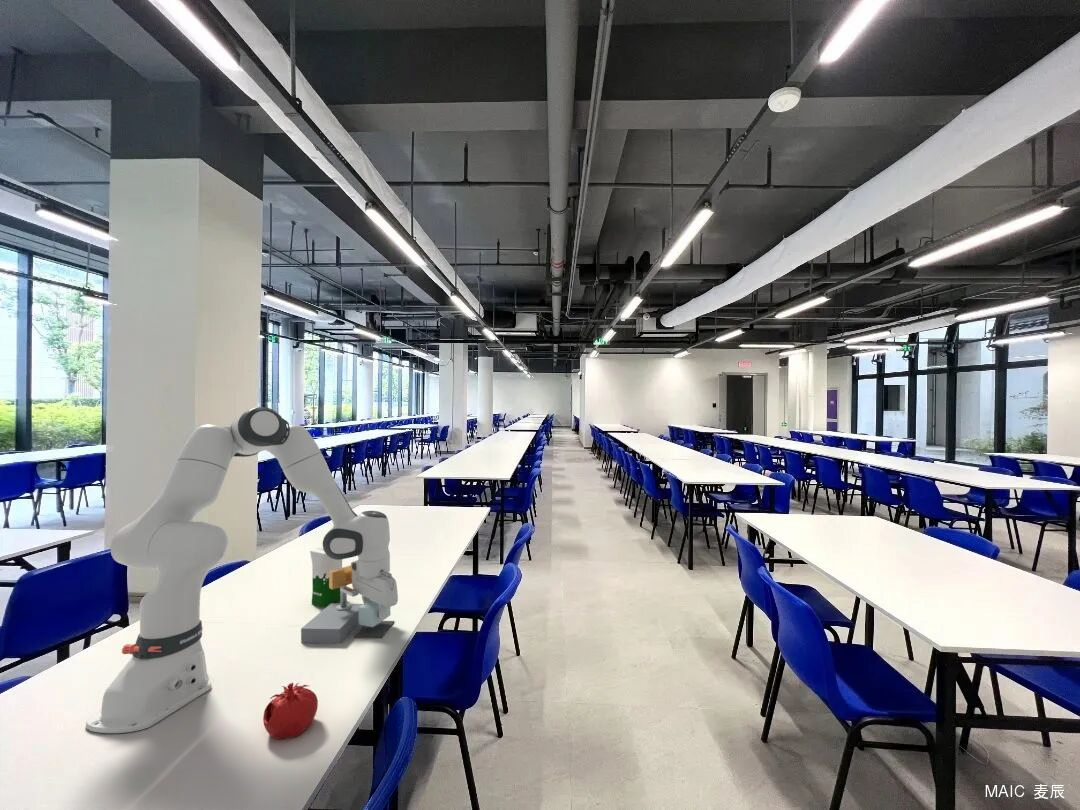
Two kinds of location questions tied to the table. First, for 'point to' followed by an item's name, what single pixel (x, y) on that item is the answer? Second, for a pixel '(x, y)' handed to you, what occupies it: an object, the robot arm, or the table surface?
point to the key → (342, 583)
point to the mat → (374, 630)
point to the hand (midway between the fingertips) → (374, 613)
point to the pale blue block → (371, 614)
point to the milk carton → (323, 578)
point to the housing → (331, 624)
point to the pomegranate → (290, 712)
